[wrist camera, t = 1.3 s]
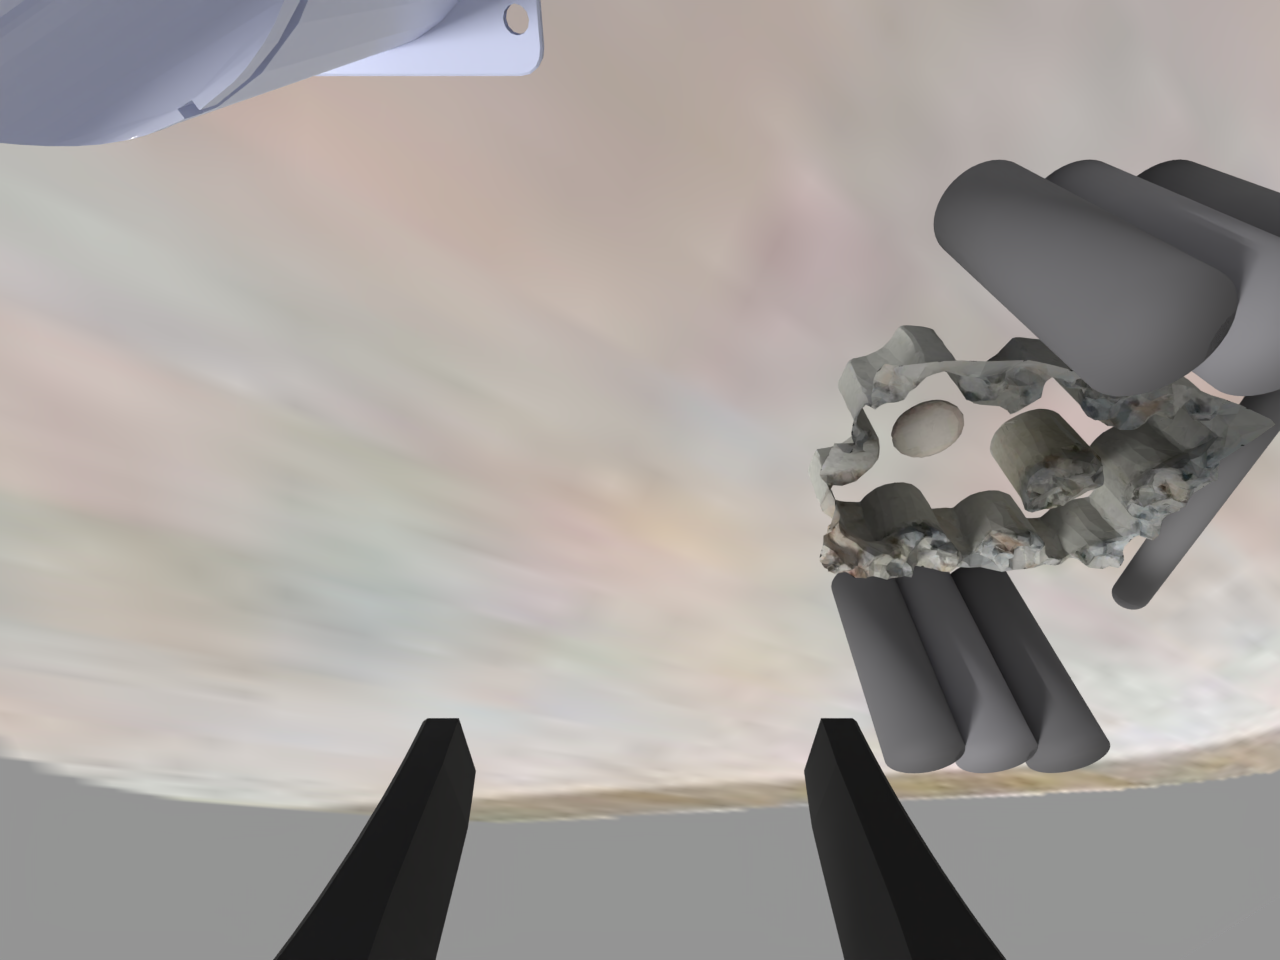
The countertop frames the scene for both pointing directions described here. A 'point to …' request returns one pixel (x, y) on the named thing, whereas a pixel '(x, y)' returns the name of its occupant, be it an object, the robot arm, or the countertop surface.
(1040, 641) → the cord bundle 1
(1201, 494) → the dark grey rod
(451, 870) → the robot arm
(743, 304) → the countertop surface
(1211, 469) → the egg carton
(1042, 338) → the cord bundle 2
